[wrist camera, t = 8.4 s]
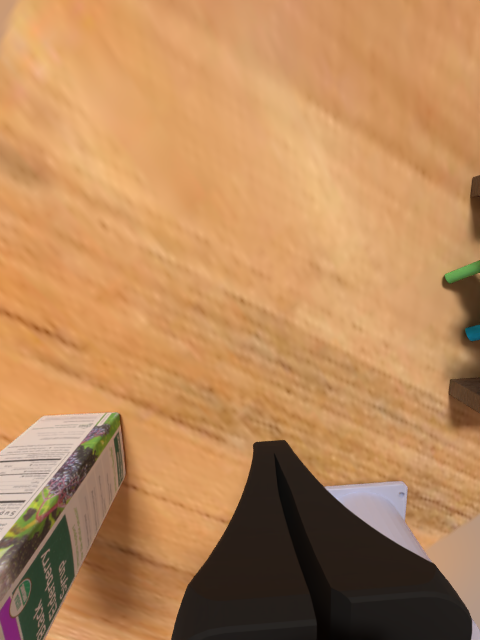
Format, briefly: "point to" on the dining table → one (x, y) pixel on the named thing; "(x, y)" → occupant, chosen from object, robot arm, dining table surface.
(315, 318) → the dining table surface
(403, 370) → the dining table surface
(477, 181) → the frame
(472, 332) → the gear
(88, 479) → the syrup box
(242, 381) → the dining table surface
